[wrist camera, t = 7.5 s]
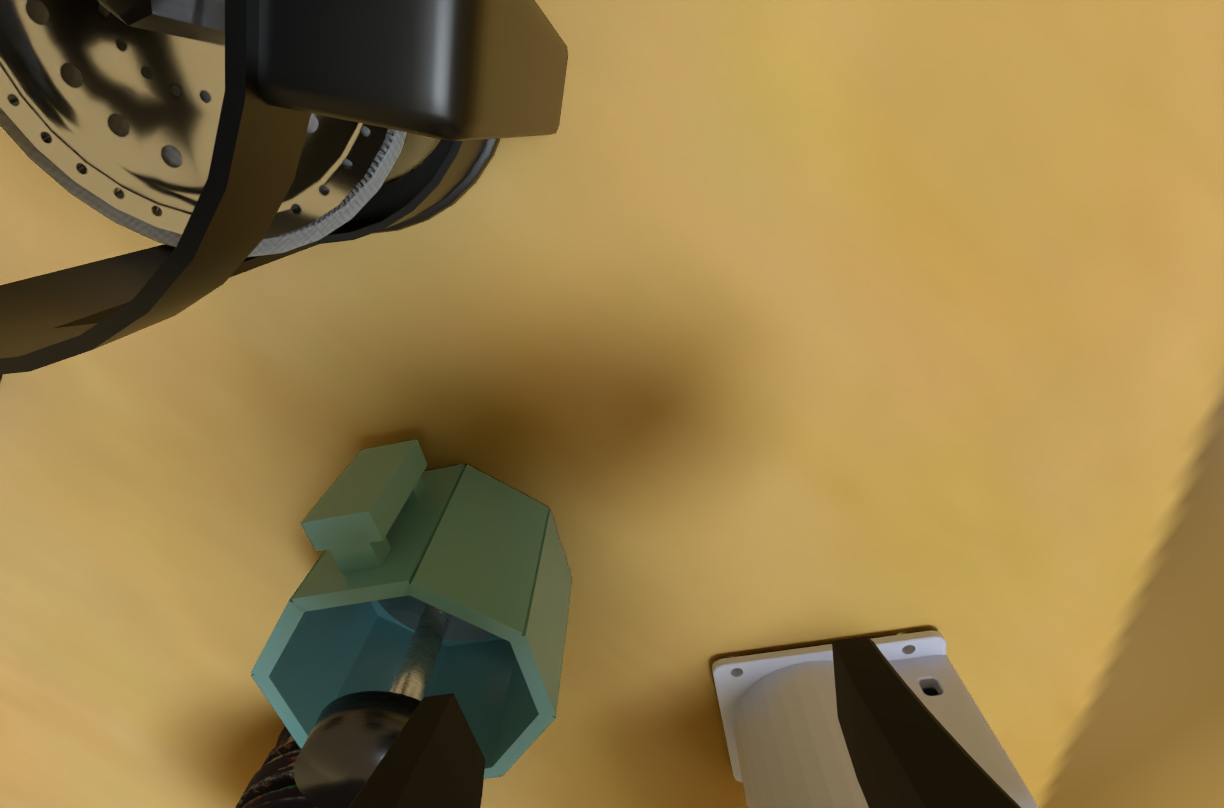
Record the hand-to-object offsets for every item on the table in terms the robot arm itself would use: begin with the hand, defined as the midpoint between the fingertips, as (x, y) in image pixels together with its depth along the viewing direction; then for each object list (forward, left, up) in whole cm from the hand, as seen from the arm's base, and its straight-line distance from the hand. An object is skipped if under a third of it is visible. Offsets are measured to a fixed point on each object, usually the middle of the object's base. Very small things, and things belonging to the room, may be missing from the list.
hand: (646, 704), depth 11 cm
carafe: (+8, +4, -10) cm, 14 cm away
